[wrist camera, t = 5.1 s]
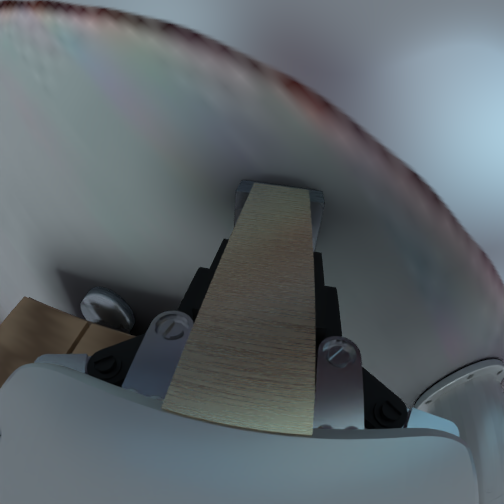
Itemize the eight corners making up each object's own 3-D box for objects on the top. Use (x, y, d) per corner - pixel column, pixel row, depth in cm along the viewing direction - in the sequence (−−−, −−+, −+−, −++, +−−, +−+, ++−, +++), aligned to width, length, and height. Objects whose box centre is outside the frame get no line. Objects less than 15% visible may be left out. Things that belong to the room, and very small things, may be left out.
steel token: (122, 286, 20) (113, 299, 19) (144, 329, 23) (138, 341, 21) (80, 285, 21) (71, 296, 20) (103, 324, 24) (96, 335, 22)
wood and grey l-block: (324, 181, 13) (359, 435, 3) (280, 368, 22) (261, 498, 12) (242, 170, 13) (118, 393, 4) (233, 360, 22) (201, 487, 13)
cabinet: (222, 295, 18) (140, 545, 5) (223, 398, 27) (189, 531, 13) (48, 258, 20) (-57, 389, 6) (96, 360, 28) (43, 463, 15)
